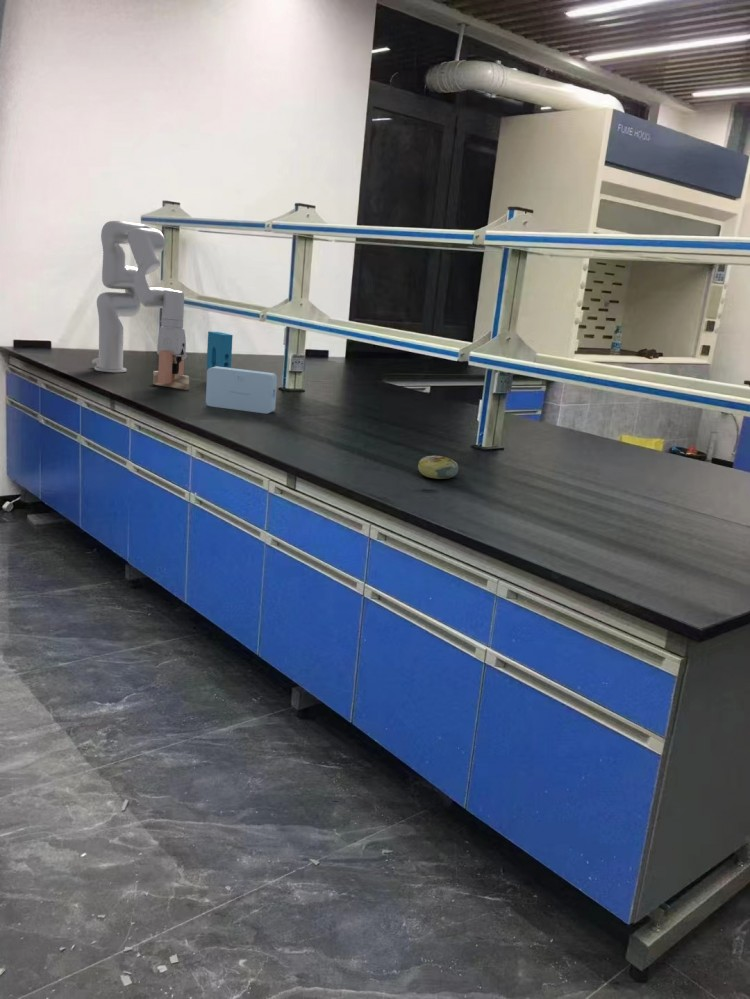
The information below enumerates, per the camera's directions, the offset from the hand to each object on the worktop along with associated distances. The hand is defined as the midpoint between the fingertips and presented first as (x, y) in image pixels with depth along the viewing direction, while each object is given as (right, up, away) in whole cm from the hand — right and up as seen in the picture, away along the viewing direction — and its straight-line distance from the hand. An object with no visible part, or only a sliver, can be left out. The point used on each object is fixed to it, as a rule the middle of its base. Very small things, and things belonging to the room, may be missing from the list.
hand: (171, 372), depth 324 cm
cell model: (+93, -43, -101) cm, 144 cm away
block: (+13, -1, +23) cm, 27 cm away
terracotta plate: (0, -4, +1) cm, 4 cm away
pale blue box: (+31, -17, -31) cm, 47 cm away
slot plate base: (0, -5, +1) cm, 5 cm away
